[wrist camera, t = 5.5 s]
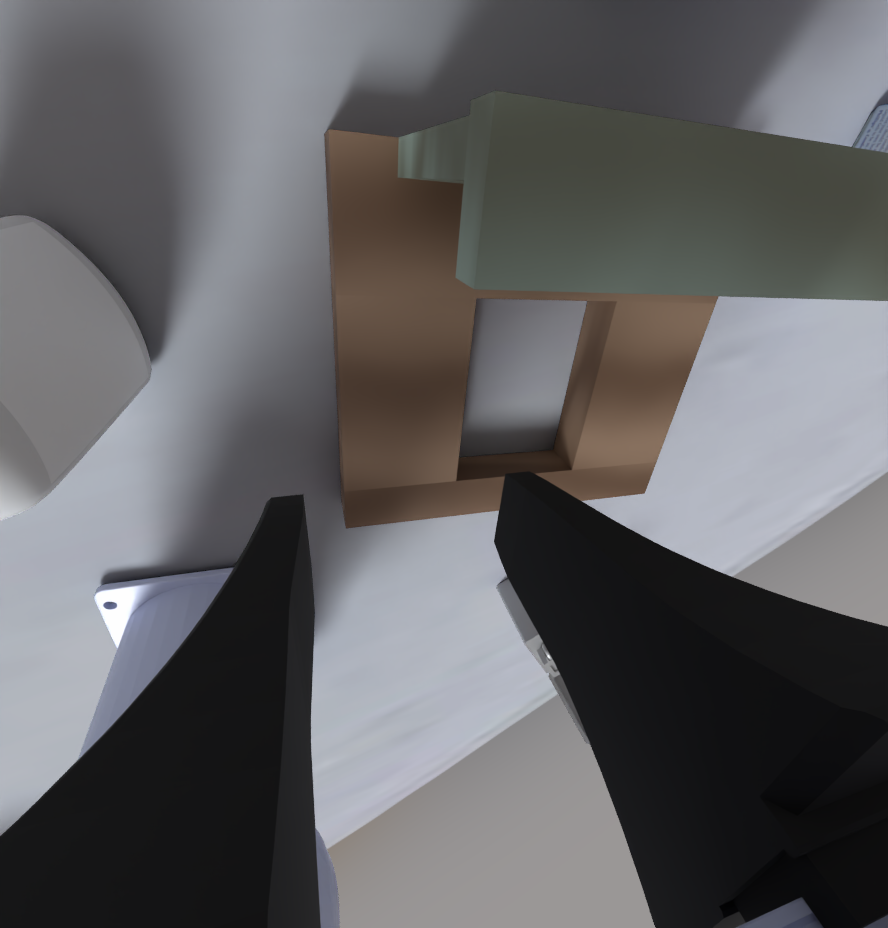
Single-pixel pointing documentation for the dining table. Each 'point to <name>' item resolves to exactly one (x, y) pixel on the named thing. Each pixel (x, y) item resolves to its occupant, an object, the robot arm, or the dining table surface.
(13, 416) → the eye dropper bottle
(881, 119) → the medicine box
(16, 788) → the dining table surface
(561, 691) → the lighter
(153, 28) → the dining table surface
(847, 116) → the dining table surface
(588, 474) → the socket board
